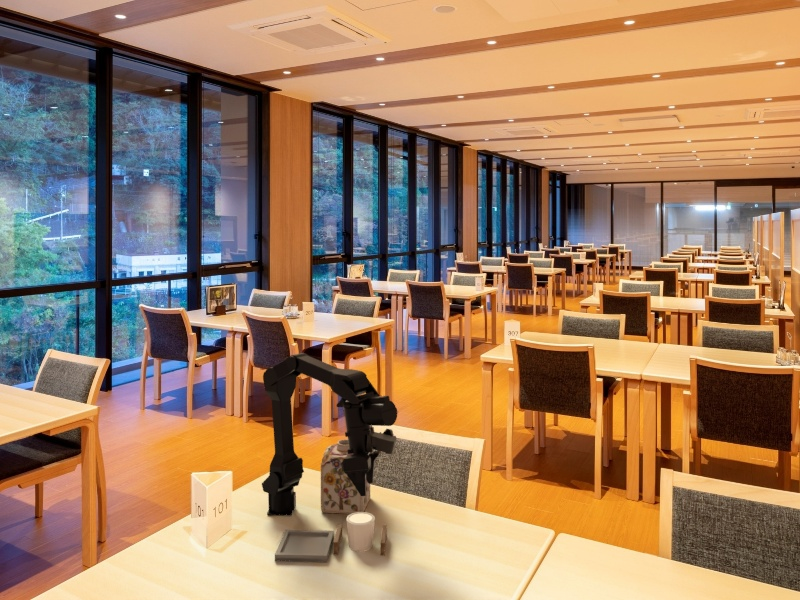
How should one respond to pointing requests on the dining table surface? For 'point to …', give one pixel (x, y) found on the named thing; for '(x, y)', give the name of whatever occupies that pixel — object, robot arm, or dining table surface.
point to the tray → (305, 546)
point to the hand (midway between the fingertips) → (367, 489)
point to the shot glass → (360, 530)
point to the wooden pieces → (339, 536)
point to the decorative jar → (339, 483)
